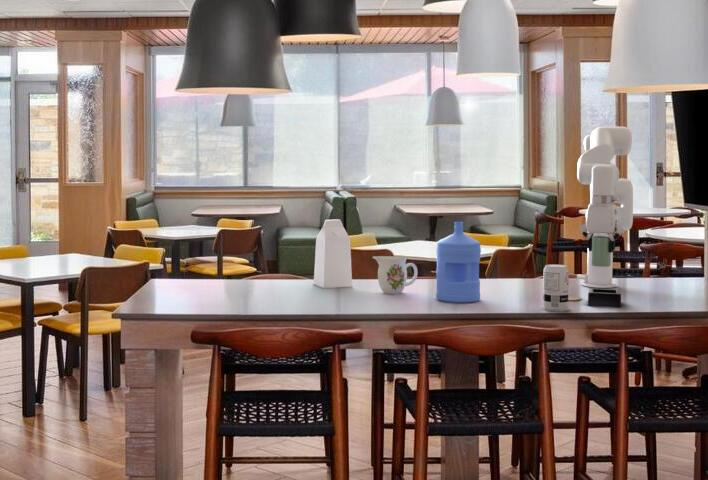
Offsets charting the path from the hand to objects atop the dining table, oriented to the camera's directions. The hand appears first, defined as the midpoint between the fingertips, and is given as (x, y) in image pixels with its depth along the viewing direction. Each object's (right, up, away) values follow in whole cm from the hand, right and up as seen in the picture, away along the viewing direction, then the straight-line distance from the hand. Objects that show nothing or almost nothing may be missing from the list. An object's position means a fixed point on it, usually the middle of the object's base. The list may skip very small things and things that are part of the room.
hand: (601, 251), depth 340 cm
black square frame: (+1, -19, 0) cm, 19 cm away
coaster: (-9, -18, +11) cm, 23 cm away
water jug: (-49, -18, +9) cm, 53 cm away
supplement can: (-19, -19, -12) cm, 30 cm away
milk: (-93, -16, +44) cm, 103 cm away
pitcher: (-70, -17, +26) cm, 76 cm away
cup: (0, -5, 0) cm, 5 cm away
